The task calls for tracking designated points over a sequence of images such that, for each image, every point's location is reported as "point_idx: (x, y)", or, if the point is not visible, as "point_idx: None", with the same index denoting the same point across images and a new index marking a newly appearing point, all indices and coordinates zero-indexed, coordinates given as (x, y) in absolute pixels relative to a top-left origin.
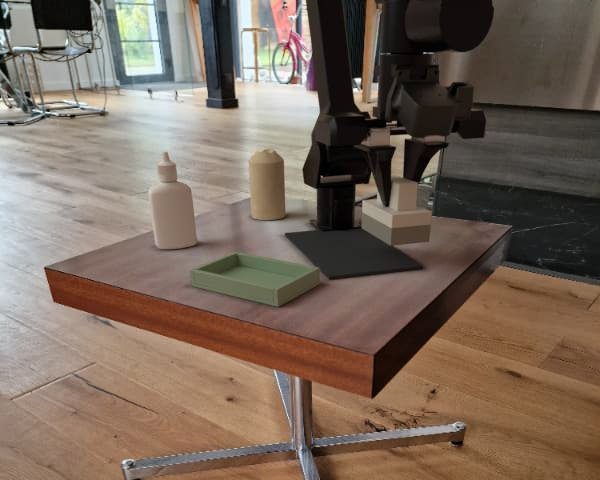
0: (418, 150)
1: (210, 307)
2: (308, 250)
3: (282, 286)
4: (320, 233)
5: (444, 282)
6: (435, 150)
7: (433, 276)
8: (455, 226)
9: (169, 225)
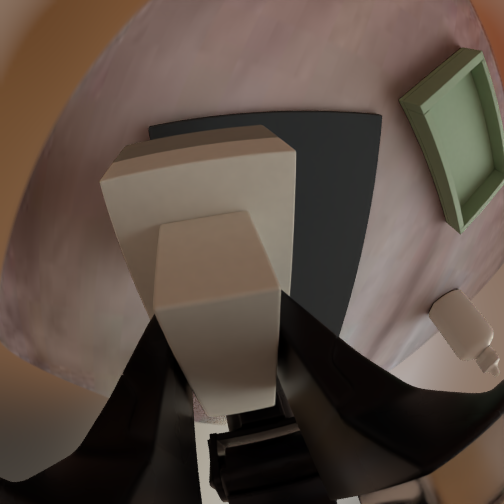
0: (160, 499)
1: (500, 95)
2: (349, 268)
3: (476, 57)
4: None
5: (135, 28)
6: (49, 484)
7: (143, 70)
8: (58, 359)
9: (469, 307)
